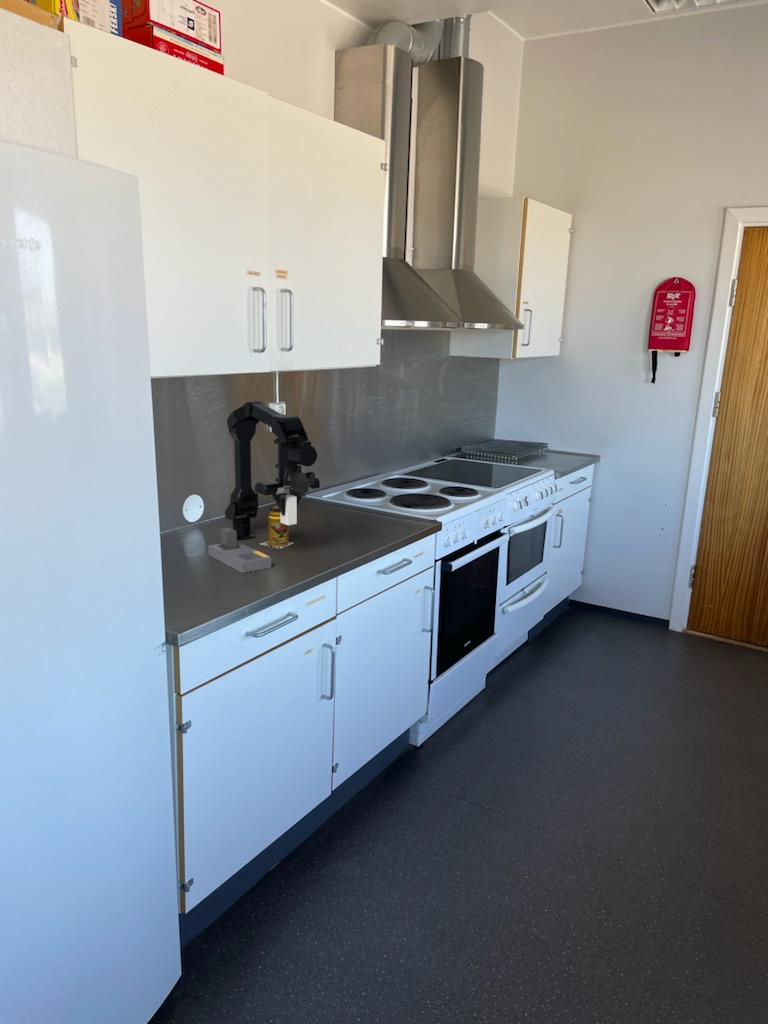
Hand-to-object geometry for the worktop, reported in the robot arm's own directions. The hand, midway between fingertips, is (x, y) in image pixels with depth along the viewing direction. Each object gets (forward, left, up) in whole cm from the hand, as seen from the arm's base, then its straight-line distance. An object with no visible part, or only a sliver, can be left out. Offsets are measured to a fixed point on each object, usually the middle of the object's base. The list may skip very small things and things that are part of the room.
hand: (288, 514), depth 213 cm
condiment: (-14, +5, -13) cm, 20 cm away
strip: (-5, -13, -13) cm, 19 cm away
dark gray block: (-11, -13, -13) cm, 22 cm away
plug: (0, 0, -2) cm, 2 cm away
